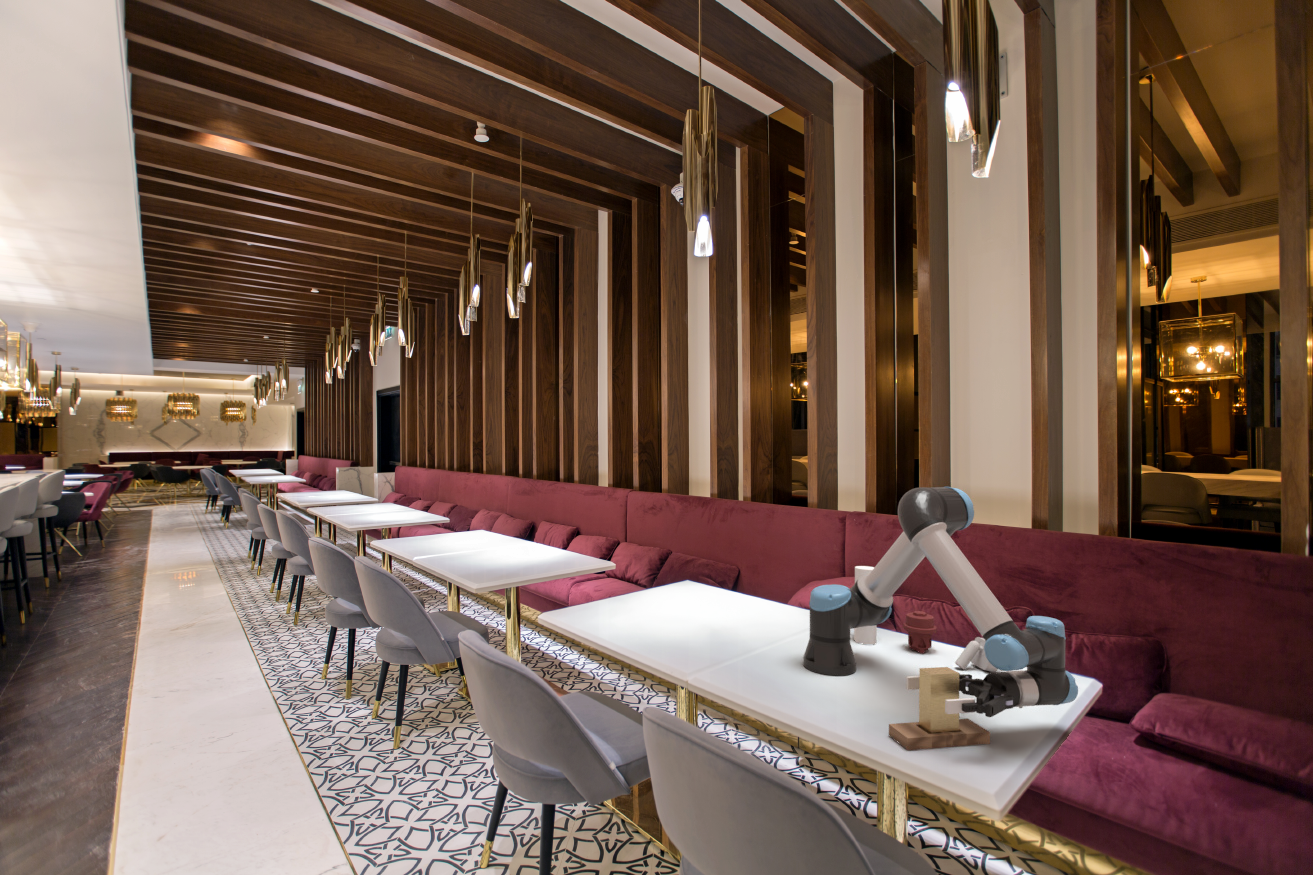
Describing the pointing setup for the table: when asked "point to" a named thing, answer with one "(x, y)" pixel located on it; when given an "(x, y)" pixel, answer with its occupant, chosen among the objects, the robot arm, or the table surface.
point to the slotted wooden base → (938, 735)
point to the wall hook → (975, 656)
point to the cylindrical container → (867, 632)
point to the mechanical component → (919, 630)
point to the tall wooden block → (937, 699)
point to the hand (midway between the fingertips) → (925, 694)
